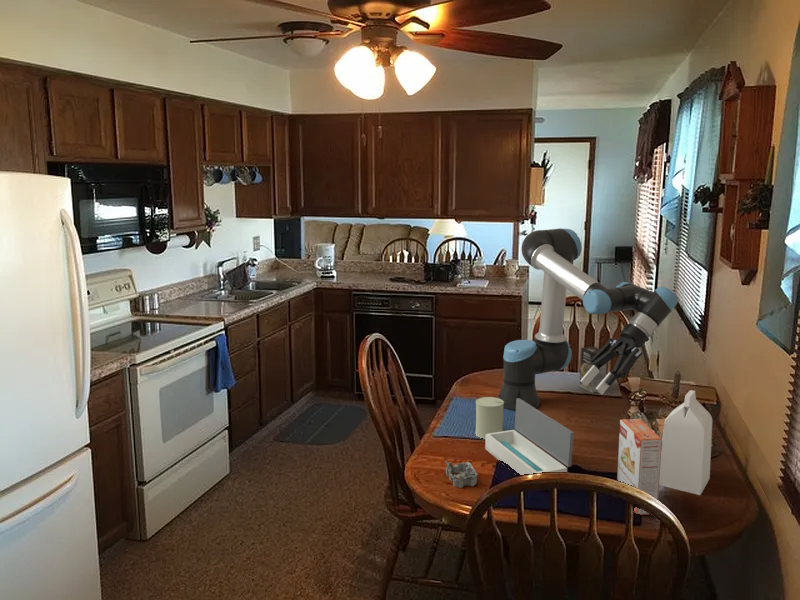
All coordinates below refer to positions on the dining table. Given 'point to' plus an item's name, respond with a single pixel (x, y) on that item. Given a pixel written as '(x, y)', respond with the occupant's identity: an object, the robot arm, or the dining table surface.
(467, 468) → the grey lumpy piece
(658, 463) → the cracker box
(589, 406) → the dining table surface
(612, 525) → the dining table surface
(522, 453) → the hinged pencil box
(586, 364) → the coffee box
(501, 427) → the can
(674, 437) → the milk
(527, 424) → the cover
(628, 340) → the robot arm
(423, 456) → the dining table surface
